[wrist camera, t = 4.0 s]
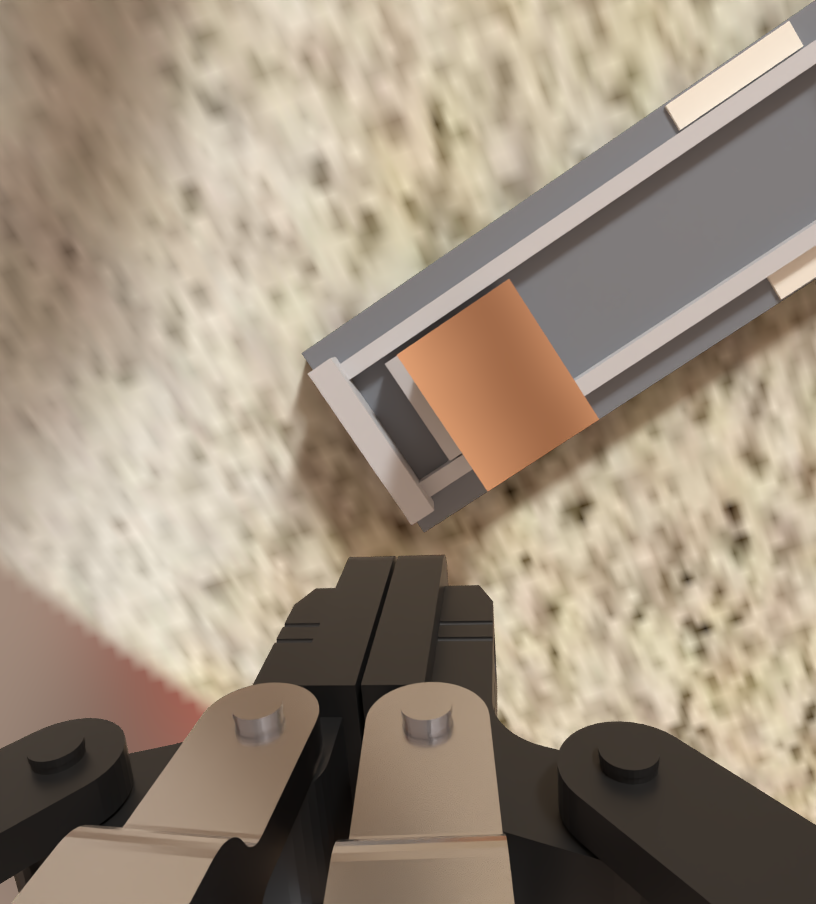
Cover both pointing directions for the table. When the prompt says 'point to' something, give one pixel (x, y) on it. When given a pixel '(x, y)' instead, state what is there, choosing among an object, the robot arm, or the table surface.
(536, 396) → the slider
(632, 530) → the table surface
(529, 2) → the table surface
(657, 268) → the track
